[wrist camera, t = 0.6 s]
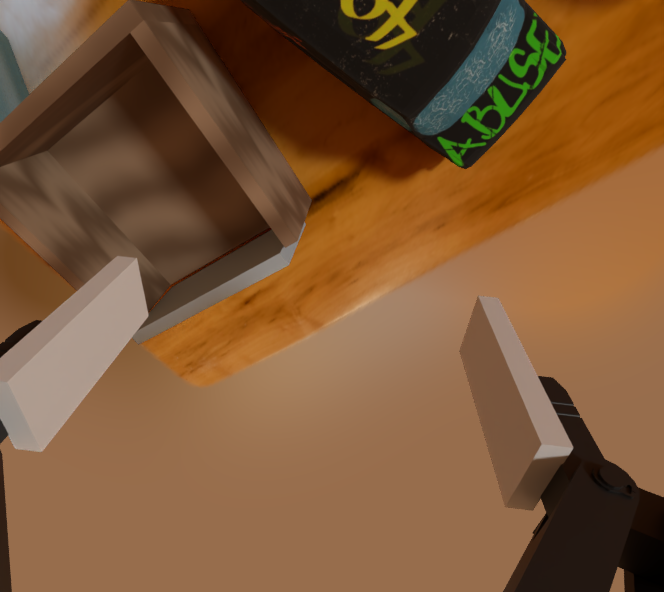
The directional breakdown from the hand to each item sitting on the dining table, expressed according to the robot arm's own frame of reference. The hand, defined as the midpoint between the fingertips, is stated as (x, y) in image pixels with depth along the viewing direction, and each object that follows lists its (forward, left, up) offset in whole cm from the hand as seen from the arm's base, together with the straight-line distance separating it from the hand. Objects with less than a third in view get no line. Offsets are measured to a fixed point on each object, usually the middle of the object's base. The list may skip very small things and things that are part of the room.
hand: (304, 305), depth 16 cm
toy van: (-7, +8, -26) cm, 28 cm away
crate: (-7, -15, -25) cm, 30 cm away
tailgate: (+3, -15, -24) cm, 28 cm away
